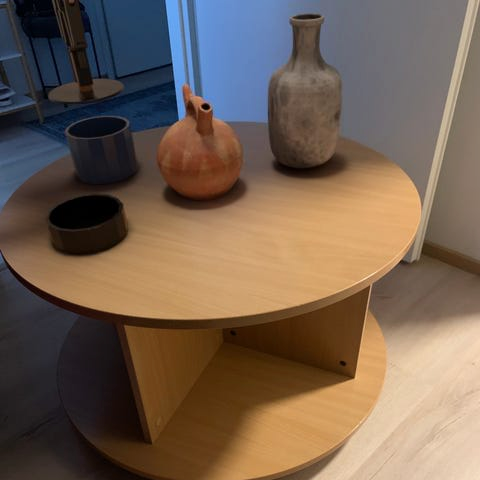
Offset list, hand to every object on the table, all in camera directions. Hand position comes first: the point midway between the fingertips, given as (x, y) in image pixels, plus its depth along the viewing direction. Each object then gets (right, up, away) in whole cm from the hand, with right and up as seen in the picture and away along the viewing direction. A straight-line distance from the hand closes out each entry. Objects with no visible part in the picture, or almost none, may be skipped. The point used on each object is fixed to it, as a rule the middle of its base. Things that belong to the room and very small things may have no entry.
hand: (84, 83), depth 105 cm
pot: (+1, -14, +16) cm, 21 cm away
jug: (+24, -21, +6) cm, 33 cm away
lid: (0, -1, +1) cm, 2 cm away
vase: (+47, -13, +13) cm, 51 cm away
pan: (+3, -33, -6) cm, 34 cm away
